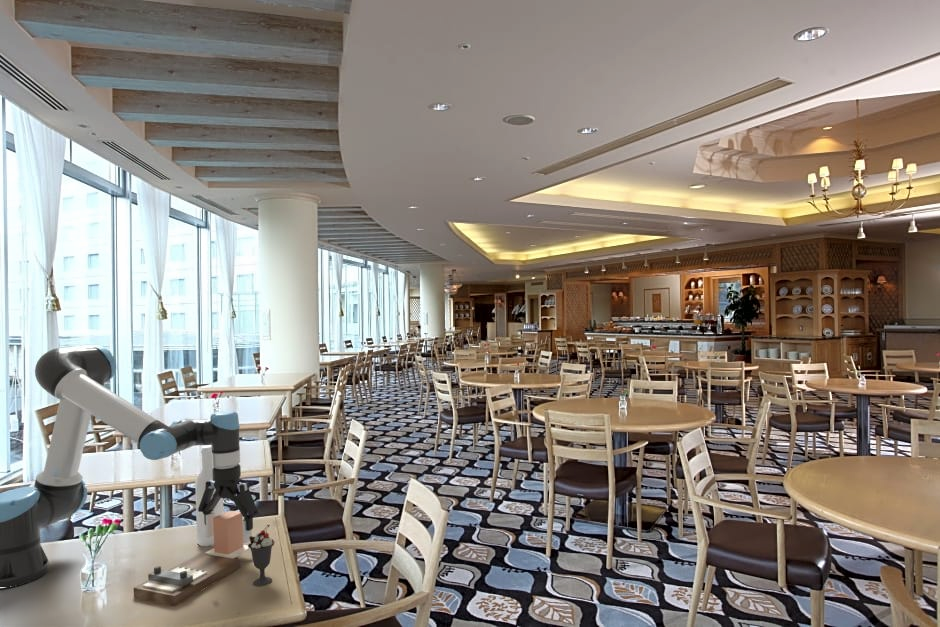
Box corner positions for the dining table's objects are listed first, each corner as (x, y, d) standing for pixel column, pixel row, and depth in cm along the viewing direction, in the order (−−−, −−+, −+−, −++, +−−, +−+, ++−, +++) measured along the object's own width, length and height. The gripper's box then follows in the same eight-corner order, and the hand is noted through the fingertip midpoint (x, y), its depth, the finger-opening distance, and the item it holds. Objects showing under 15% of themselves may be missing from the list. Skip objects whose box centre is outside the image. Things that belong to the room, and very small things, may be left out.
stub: (205, 554, 165) (204, 517, 165) (225, 543, 173) (224, 508, 172) (232, 558, 162) (231, 521, 162) (252, 547, 169) (251, 512, 169)
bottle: (200, 549, 176) (197, 450, 176) (194, 541, 182) (190, 446, 182) (228, 541, 181) (224, 446, 181) (220, 534, 187) (217, 442, 187)
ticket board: (133, 597, 146) (133, 574, 146) (202, 561, 167) (201, 541, 167) (175, 606, 141) (174, 582, 141) (240, 567, 162) (240, 547, 162)
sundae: (280, 581, 153) (278, 525, 153) (255, 590, 148) (253, 532, 148) (269, 573, 158) (267, 518, 157) (245, 582, 153) (243, 525, 153)
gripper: (269, 464, 166) (272, 538, 166) (203, 459, 175) (206, 529, 175) (251, 472, 159) (253, 548, 159) (183, 465, 168) (185, 538, 168)
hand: (228, 538), depth 167 cm, fingers open, 13 cm apart
